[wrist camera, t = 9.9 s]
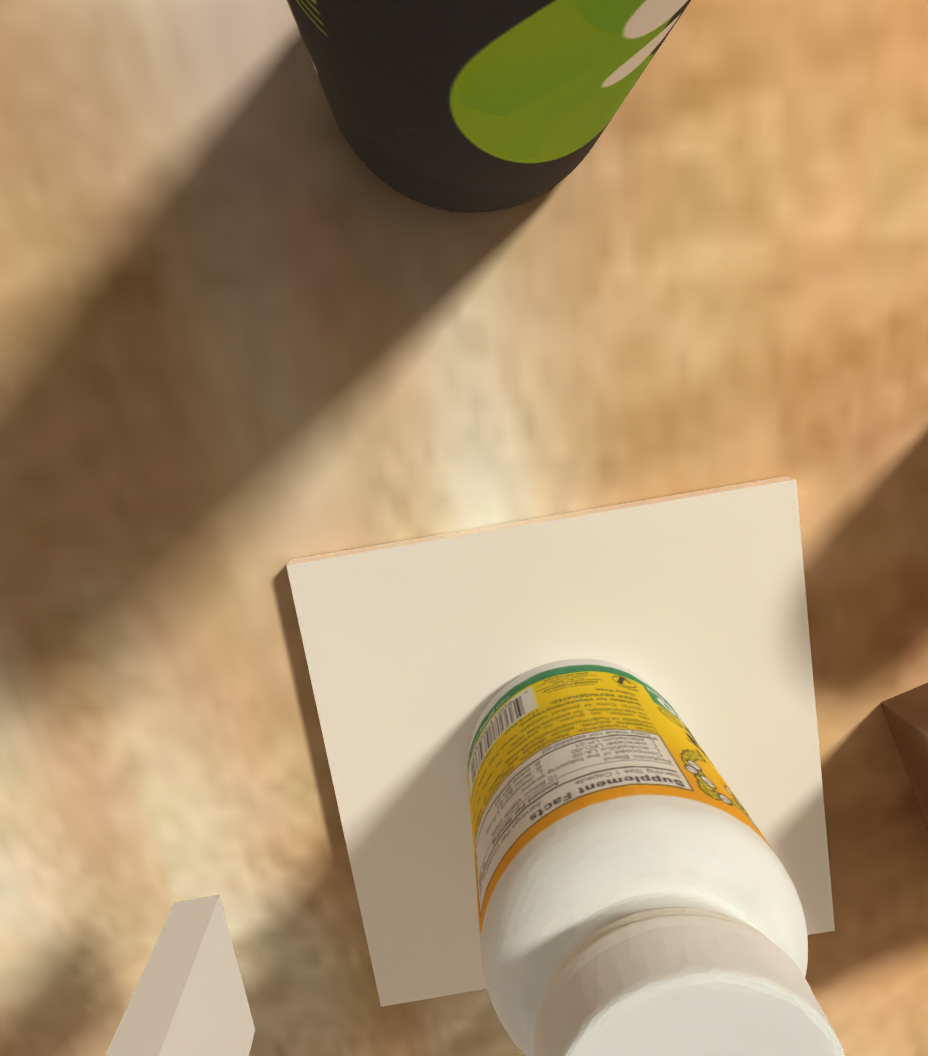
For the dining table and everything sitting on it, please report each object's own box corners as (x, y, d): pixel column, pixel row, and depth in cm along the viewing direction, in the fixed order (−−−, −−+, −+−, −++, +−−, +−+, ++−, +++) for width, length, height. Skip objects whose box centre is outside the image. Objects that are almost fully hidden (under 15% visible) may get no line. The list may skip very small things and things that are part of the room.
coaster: (382, 989, 21) (380, 1007, 21) (290, 559, 19) (286, 565, 19) (824, 915, 21) (835, 930, 21) (785, 476, 19) (796, 479, 19)
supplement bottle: (453, 667, 19) (467, 952, 10) (674, 638, 19) (902, 894, 10) (480, 868, 20) (516, 1300, 11) (690, 840, 20) (911, 1247, 11)
